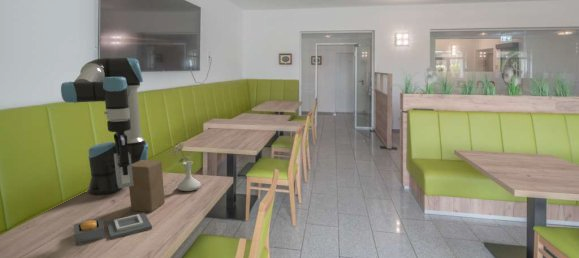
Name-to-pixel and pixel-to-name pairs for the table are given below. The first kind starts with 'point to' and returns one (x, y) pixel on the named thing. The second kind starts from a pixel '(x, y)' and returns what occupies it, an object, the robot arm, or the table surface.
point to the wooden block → (147, 186)
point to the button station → (89, 232)
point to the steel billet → (118, 171)
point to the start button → (88, 225)
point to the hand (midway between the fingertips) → (124, 180)
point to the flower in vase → (189, 181)
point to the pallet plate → (128, 225)
